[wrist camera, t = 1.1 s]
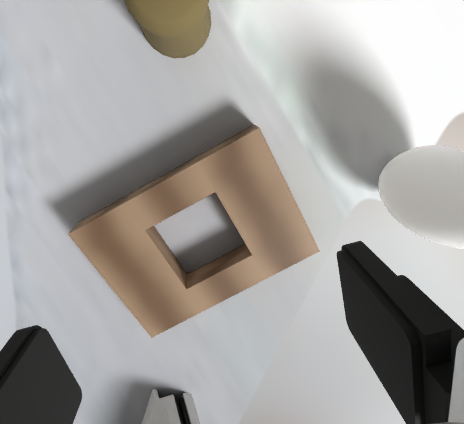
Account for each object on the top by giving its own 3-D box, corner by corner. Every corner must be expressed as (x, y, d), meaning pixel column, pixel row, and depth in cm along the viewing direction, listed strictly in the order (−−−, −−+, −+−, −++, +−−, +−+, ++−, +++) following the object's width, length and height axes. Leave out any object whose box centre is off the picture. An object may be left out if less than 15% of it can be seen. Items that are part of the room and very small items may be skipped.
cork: (180, 73, 30) (171, 64, 20) (124, 20, 28) (82, -20, 18) (225, 18, 29) (241, -23, 18) (170, -41, 27) (154, -123, 17)
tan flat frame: (253, 124, 32) (259, 127, 29) (310, 238, 37) (319, 251, 34) (78, 222, 34) (68, 234, 31) (154, 319, 38) (151, 337, 36)
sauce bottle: (444, 174, 36) (665, 248, 19) (387, 224, 37) (546, 334, 20) (405, 121, 33) (617, 153, 17) (345, 177, 35) (485, 258, 18)
